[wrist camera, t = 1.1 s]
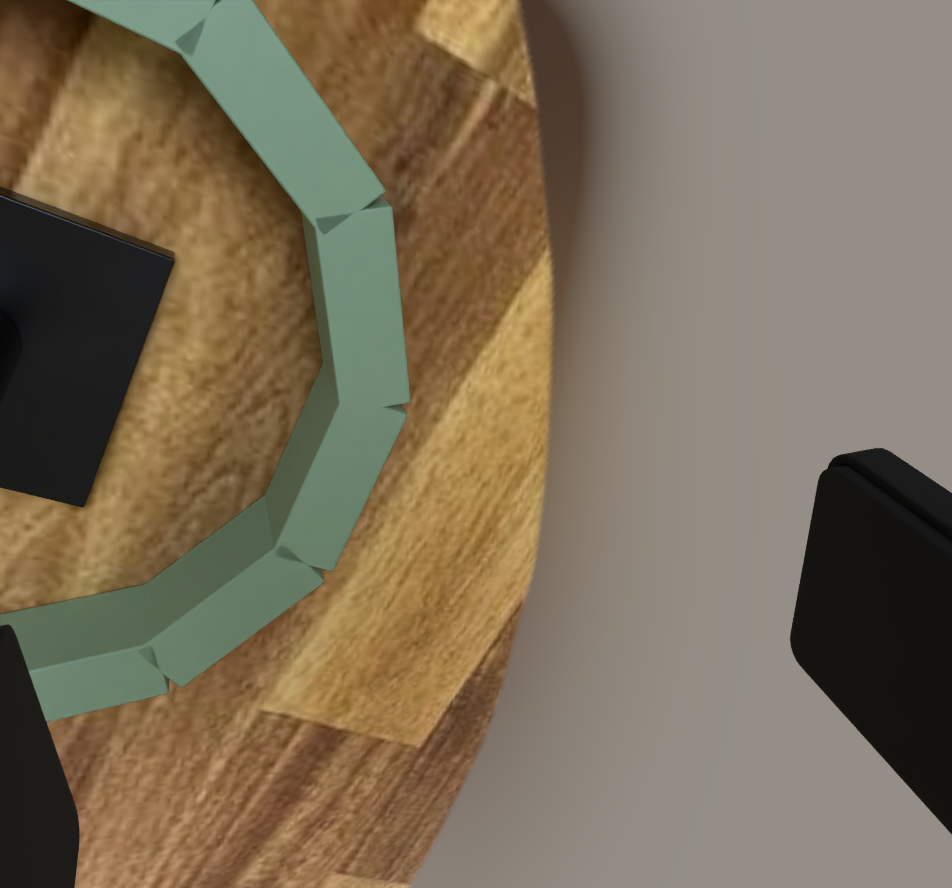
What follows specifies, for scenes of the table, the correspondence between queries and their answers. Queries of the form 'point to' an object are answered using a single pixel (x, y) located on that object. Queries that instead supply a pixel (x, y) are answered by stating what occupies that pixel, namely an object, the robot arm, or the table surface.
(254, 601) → the hoop
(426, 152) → the table surface
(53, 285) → the post
